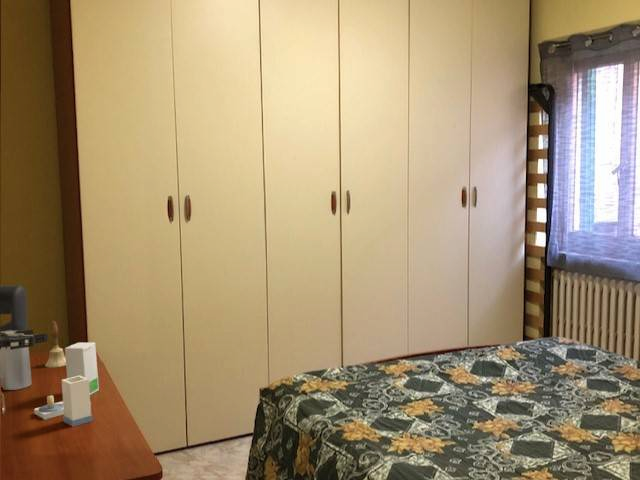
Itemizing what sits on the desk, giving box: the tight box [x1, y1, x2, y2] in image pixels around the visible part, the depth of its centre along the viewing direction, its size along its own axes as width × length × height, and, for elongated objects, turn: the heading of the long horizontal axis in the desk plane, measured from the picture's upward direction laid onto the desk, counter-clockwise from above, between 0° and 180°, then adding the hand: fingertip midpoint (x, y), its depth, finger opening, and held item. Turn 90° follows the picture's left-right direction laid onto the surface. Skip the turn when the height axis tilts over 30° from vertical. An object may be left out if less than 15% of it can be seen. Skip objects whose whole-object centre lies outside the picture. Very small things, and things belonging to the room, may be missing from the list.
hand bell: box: [44, 320, 66, 369], centre depth 257 cm, size 8×8×16 cm
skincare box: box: [64, 342, 100, 396], centre depth 223 cm, size 8×7×16 cm
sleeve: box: [61, 375, 94, 428], centre depth 199 cm, size 6×6×12 cm
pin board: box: [33, 395, 92, 420], centre depth 209 cm, size 14×7×5 cm, turn 134°
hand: (39, 335), depth 190 cm, fingers open, 8 cm apart
